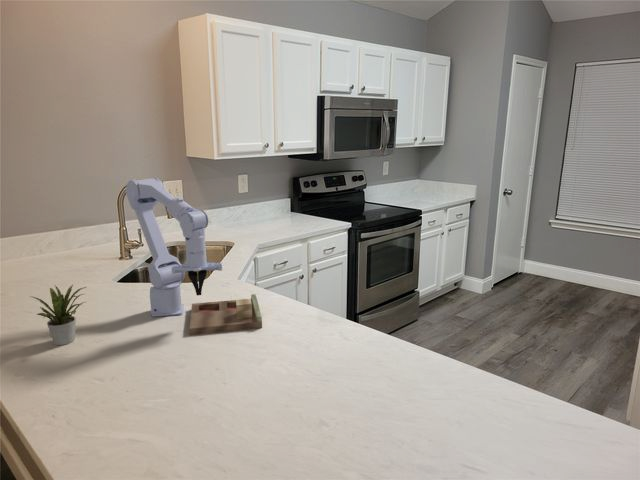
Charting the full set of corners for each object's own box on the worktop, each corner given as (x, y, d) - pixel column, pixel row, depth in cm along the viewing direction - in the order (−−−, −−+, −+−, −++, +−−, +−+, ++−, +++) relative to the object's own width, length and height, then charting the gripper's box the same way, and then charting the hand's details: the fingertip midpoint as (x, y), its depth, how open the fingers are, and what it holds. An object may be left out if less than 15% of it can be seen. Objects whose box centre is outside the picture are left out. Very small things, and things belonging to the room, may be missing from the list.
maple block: (237, 318, 138) (236, 305, 137) (236, 313, 142) (235, 299, 141) (252, 317, 139) (251, 303, 138) (251, 312, 143) (250, 298, 142)
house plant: (108, 334, 133) (101, 281, 129) (68, 356, 120) (60, 297, 116) (70, 327, 137) (63, 276, 133) (28, 347, 124) (19, 291, 121)
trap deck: (189, 335, 132) (188, 323, 131) (192, 309, 151) (191, 299, 150) (262, 327, 137) (261, 317, 136) (255, 303, 156) (255, 294, 155)
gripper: (169, 256, 129) (173, 300, 133) (221, 252, 133) (223, 296, 136) (171, 249, 136) (174, 292, 139) (220, 247, 139) (223, 288, 143)
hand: (199, 294), depth 138 cm, fingers closed
